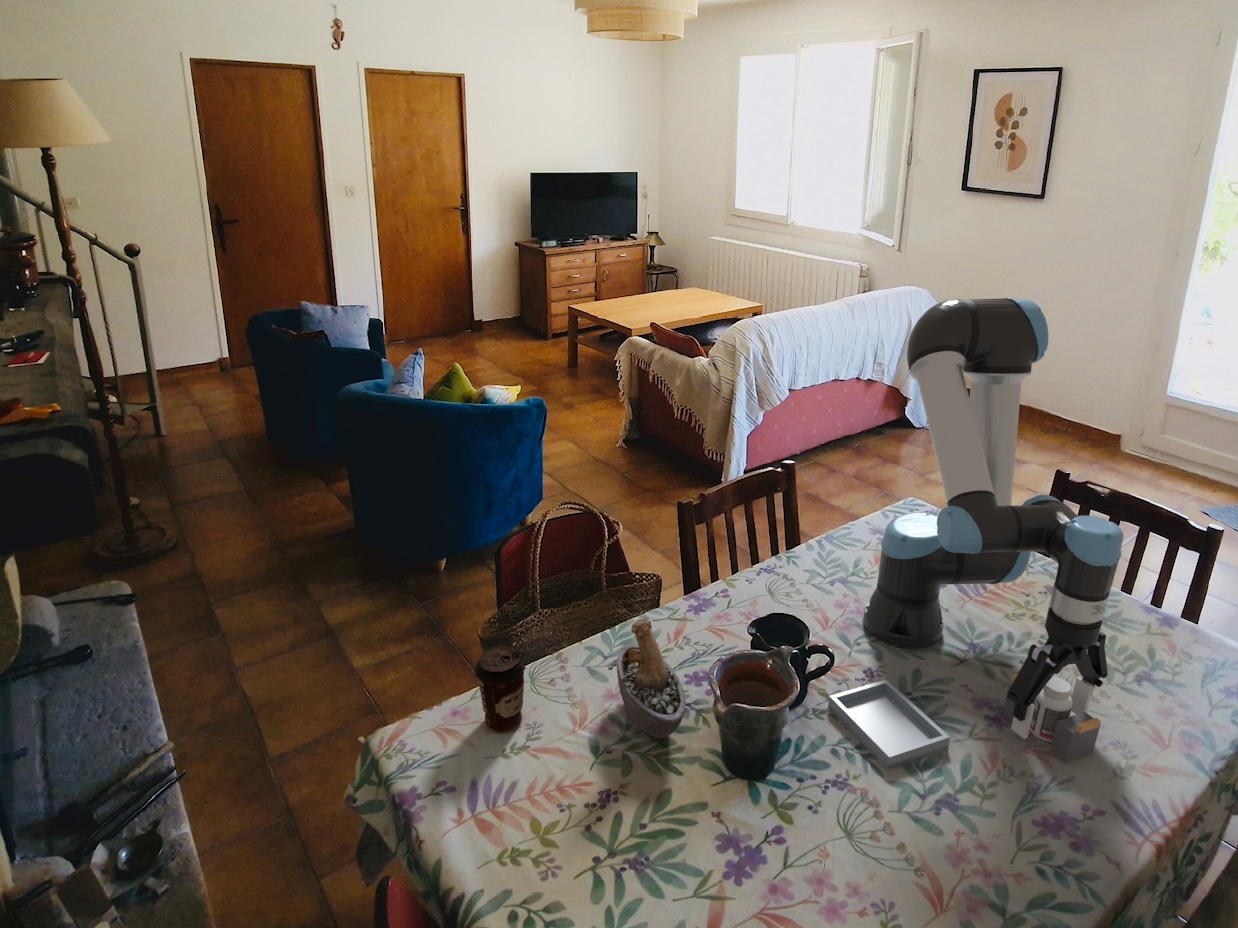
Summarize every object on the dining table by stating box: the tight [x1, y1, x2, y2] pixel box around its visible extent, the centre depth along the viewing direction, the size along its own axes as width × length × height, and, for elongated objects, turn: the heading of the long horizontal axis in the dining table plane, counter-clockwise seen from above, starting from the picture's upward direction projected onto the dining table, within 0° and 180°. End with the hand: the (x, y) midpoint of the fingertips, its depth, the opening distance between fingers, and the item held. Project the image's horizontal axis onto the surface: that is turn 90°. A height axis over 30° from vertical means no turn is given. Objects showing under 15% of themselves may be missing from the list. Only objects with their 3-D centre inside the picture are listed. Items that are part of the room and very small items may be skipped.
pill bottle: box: [1029, 676, 1073, 743], centre depth 139 cm, size 5×5×10 cm
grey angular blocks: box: [1002, 673, 1102, 764], centre depth 139 cm, size 14×6×7 cm, turn 22°
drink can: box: [474, 645, 527, 734], centre depth 141 cm, size 9×8×13 cm
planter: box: [616, 618, 687, 739], centre depth 140 cm, size 15×17×20 cm
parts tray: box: [827, 678, 951, 771], centre depth 141 cm, size 16×12×2 cm
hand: (1048, 723), depth 140 cm, fingers open, 12 cm apart
